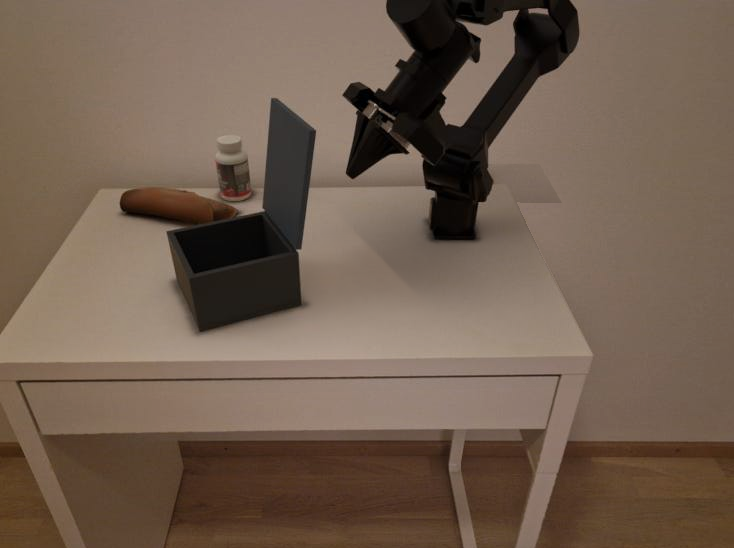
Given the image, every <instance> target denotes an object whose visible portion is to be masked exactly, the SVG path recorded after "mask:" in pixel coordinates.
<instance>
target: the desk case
mask: <svg viewBox="0 0 734 548" xmlns="http://www.w3.org/2000/svg"><path fill="white" fill-rule="evenodd" d="M165 233H166V237H167V241H168V245H169V246H168V247H169V250H170V255H171V259H172V264H173V269H174V273H175V274H174V275H175V279H176V283H177V284H178V287H179V289H180V291H181V294H182V296H183V298H184V300H185V303H186V305H187V307H188V309H189V311H190V313H191V316H192V318H193V321H194V323H195V325H196V327H197V330H198V331H199V332H200V333H201V332H205V331H209V330H213V329H216V328H221V327H225V326H227V325H228V326H229V325H232V324H236V323H239V322H244V321H248V320H251V319H254V318H260V317H263V316H266V315H270V314H275V313H278V312H281V311H285V310H289V309H293V308H297V307H300V306H301V307H302V305H303V303H302V302H303V301H302V287H301V270H300V254H299V251H298V250H295V248H294V247H293V246H292V244H291V243H290V242H289V241H288V239H287V238H286V237H285V236H284V234H283V233H282V232H281V231H280V229H279V228H278V227H277V225H276V224H275V223H274V222H273V220H272V219H271V218H270V217H269V215H268V214H267V213H266V212H265V210H263V211H257V212H254V213H249V214H243V215H239V216H234V217H233V218H228V219H224V220H219V221H214V222H209V223H204V224H194V225H189V226H184V227H180V228H176V229H171V230H167V231H165Z"/></svg>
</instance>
